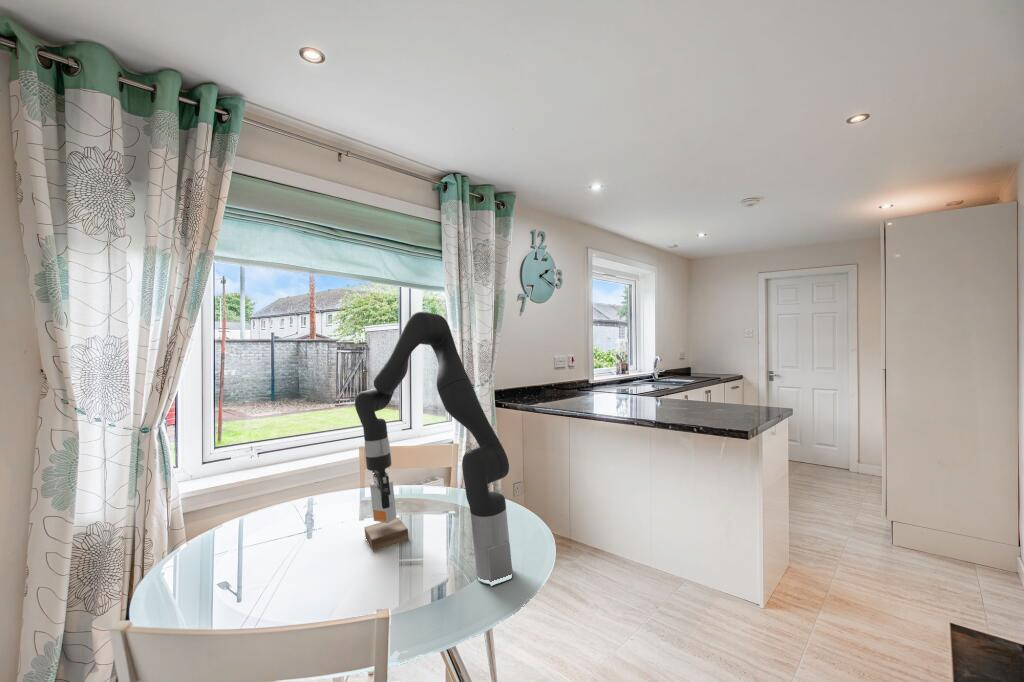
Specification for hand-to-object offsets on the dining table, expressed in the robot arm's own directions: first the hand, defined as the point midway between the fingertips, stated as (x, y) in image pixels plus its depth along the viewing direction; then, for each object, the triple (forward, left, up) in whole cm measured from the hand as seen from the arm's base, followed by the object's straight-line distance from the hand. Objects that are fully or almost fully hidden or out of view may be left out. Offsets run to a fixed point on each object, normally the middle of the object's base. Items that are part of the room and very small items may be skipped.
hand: (383, 503), depth 144 cm
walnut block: (0, 0, -12) cm, 12 cm away
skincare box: (0, 0, -5) cm, 5 cm away
